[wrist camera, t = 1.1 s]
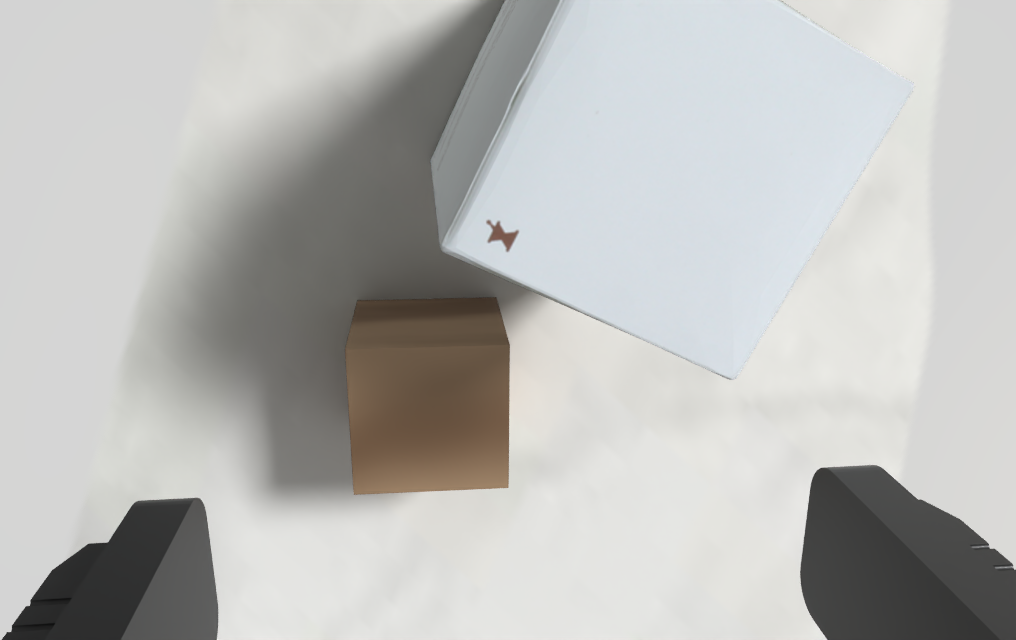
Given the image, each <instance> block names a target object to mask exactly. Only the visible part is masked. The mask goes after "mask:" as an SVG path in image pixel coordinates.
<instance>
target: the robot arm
mask: <svg viewBox="0 0 1016 640" xmlns="http://www.w3.org/2000/svg"><path fill="white" fill-rule="evenodd" d="M800 575H801V587H802V592H803V597H804V600H805V603H806V606H807V609H808V611H809V613H810V615H811V616H812V618H813V620H814V621H815V623H816V624H817V625H818V627H819V628H820V630H821V631H822V632H823V634H824V635H825V637H826V638H827V640H1016V570H1014V569H1013V564H1012V563H1011V562H1010V561H1008V560H1007V559H1006V558H1005V557H1004V556H1003V555H1001V554H1000V553H999V552H998V551H996V550H995V549H990V548H989V544H988V543H987V542H986V541H985V540H984V539H983V538H981V537H980V536H979V535H978V534H977V533H975V532H974V531H973V530H972V529H971V528H969V527H968V526H967V525H966V524H965V523H964V522H962V521H961V520H960V519H958V518H956V517H954V516H952V515H950V514H948V513H946V512H944V511H942V510H941V509H939V508H936V507H935V506H933V505H931V504H928V503H927V502H925V501H923V500H918V499H917V498H915V497H914V496H913V495H912V494H911V493H910V492H908V490H906V489H905V488H904V487H903V486H902V485H901V484H900V483H898V482H897V481H896V480H895V479H894V478H893V477H892V476H891V475H889V474H888V473H887V472H886V471H885V470H884V469H882V468H881V467H879V466H876V465H867V466H848V467H828V468H820V469H819V470H817V472H816V473H815V474H814V476H813V479H812V482H811V488H810V496H809V504H808V512H807V520H806V528H805V536H804V544H803V552H802V560H801V571H800ZM217 631H218V602H217V594H216V586H215V578H214V570H213V562H212V554H211V547H210V539H209V531H208V523H207V516H206V511H205V507H204V504H203V502H202V500H201V499H200V498H186V499H166V500H146V501H137V502H135V503H134V504H133V505H132V507H131V508H130V510H129V511H128V513H127V514H126V516H125V517H124V519H123V520H122V522H121V523H120V525H119V527H118V528H117V530H116V531H115V533H114V534H113V536H112V537H111V539H110V540H109V542H108V543H94V544H88V545H86V546H85V547H84V548H82V549H81V550H79V551H78V552H77V553H75V554H74V555H73V556H71V557H70V558H68V559H67V560H66V561H64V562H63V563H62V564H60V565H59V566H58V567H56V568H55V569H53V570H52V571H51V573H50V574H49V575H48V577H47V578H46V580H45V581H44V582H43V584H42V585H41V586H40V588H39V589H38V591H37V592H36V593H35V595H34V596H33V598H32V599H31V604H30V606H26V607H25V609H24V610H23V611H22V613H21V614H20V615H19V617H18V618H17V620H16V621H15V622H14V624H13V625H12V631H11V632H7V634H6V635H5V636H4V637H3V639H2V640H217Z"/></svg>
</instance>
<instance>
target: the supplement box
mask: <svg viewBox="0 0 1016 640" xmlns="http://www.w3.org/2000/svg"><path fill="white" fill-rule="evenodd" d="M914 87H915V86H914V82H912V81H910V80H908V79H906V78H904V77H902V76H901V75H899V74H897V73H896V72H894V71H892V70H891V69H889V68H887V67H886V66H884V65H882V64H881V63H879V62H877V61H876V60H874V59H872V58H871V57H869V56H867V55H866V54H864V53H862V52H861V51H859V50H858V49H856V48H855V47H853V46H851V45H850V44H848V43H847V42H845V41H843V40H842V39H840V38H839V37H837V36H835V35H834V34H832V33H831V32H829V31H828V30H826V29H824V28H823V27H821V26H820V25H818V24H817V23H815V22H814V21H812V20H811V19H809V18H807V17H806V16H804V15H803V14H801V13H800V12H798V11H797V10H795V9H794V8H792V7H791V6H789V5H787V4H786V3H784V2H783V1H781V0H505V1H504V3H503V5H502V7H501V9H500V12H499V14H498V16H497V18H496V20H495V22H494V24H493V26H492V28H491V30H490V32H489V34H488V36H487V38H486V40H485V42H484V44H483V46H482V48H481V50H480V52H479V55H478V57H477V59H476V61H475V63H474V65H473V67H472V69H471V72H470V74H469V76H468V78H467V80H466V83H465V85H464V87H463V89H462V91H461V94H460V96H459V98H458V100H457V102H456V105H455V107H454V109H453V111H452V113H451V116H450V118H449V120H448V122H447V125H446V127H445V129H444V131H443V133H442V136H441V138H440V140H439V142H438V145H437V147H436V149H435V151H434V153H433V155H432V158H431V160H430V163H431V170H432V178H433V187H434V197H435V206H436V216H437V224H438V234H439V243H440V249H441V250H442V252H444V253H446V254H448V255H451V256H453V257H455V258H457V259H460V260H462V261H464V262H467V263H469V264H471V265H473V266H476V267H478V268H480V269H482V270H485V271H487V272H489V273H492V274H494V275H496V276H498V277H501V278H503V279H505V280H508V281H510V282H512V283H514V284H517V285H519V286H521V287H523V288H526V289H528V290H530V291H533V292H535V293H537V294H539V295H542V296H544V297H546V298H548V299H551V300H553V301H555V302H558V303H560V304H562V305H564V306H567V307H569V308H571V309H574V310H576V311H578V312H580V313H583V314H585V315H587V316H590V317H592V318H594V319H596V320H599V321H601V322H603V323H606V324H608V325H610V326H612V327H615V328H617V329H619V330H621V331H624V332H626V333H628V334H630V335H633V336H635V337H637V338H640V339H642V340H644V341H646V342H648V343H651V344H653V345H655V346H657V347H659V348H662V349H664V350H666V351H668V352H670V353H672V354H674V355H676V356H678V357H681V358H683V359H686V360H688V361H690V362H692V363H694V364H696V365H698V366H701V367H703V368H705V369H707V370H709V371H711V372H713V373H716V374H718V375H720V376H722V377H725V378H727V379H730V380H733V379H736V378H737V376H738V375H739V373H740V372H741V370H742V369H743V367H744V365H745V364H746V362H747V360H748V359H749V357H750V355H751V353H752V352H753V350H754V349H755V347H756V345H757V344H758V342H759V340H760V339H761V337H762V336H763V334H764V332H765V331H766V329H767V327H768V326H769V324H770V322H771V321H772V319H773V317H774V316H775V314H776V313H777V311H778V309H779V308H780V306H781V304H782V303H783V301H784V300H785V298H786V296H787V295H788V293H789V292H790V290H791V288H792V287H793V285H794V283H795V282H796V280H797V279H798V277H799V275H800V274H801V272H802V270H803V269H804V267H805V265H806V264H807V262H808V261H809V259H810V257H811V256H812V254H813V252H814V251H815V249H816V247H817V246H818V244H819V243H820V241H821V239H822V238H823V236H824V234H825V233H826V231H827V229H828V228H829V226H830V225H831V223H832V221H833V220H834V218H835V216H836V215H837V213H838V211H839V210H840V208H841V207H842V205H843V203H844V202H845V200H846V198H847V197H848V195H849V193H850V192H851V190H852V189H853V187H854V185H855V184H856V182H857V181H858V179H859V177H860V176H861V174H862V172H863V171H864V169H865V168H866V166H867V164H868V163H869V161H870V160H871V158H872V156H873V155H874V153H875V151H876V150H877V148H878V147H879V145H880V143H881V142H882V140H883V139H884V137H885V135H886V134H887V132H888V130H889V129H890V127H891V125H892V124H893V122H894V120H895V119H896V117H897V116H898V114H899V112H900V111H901V109H902V107H903V106H904V104H905V103H906V101H907V100H908V98H909V96H910V95H911V93H912V92H913V89H914Z"/></svg>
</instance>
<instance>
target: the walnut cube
mask: <svg viewBox="0 0 1016 640" xmlns="http://www.w3.org/2000/svg"><path fill="white" fill-rule="evenodd" d="M345 358H346V374H347V391H348V407H349V423H350V440H351V456H352V472H353V489H354V495H357V494H379V493H402V492H424V491H447V490H469V489H492V488H508V480H509V361H510V344H509V341H508V337H507V334H506V330H505V327H504V323H503V320H502V316H501V313H500V309H499V306H498V302H497V299H496V297H494V298H449V299H404V300H359V301H357V304H356V308H355V312H354V316H353V320H352V324H351V328H350V332H349V336H348V339H347V343H346V347H345Z"/></svg>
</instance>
